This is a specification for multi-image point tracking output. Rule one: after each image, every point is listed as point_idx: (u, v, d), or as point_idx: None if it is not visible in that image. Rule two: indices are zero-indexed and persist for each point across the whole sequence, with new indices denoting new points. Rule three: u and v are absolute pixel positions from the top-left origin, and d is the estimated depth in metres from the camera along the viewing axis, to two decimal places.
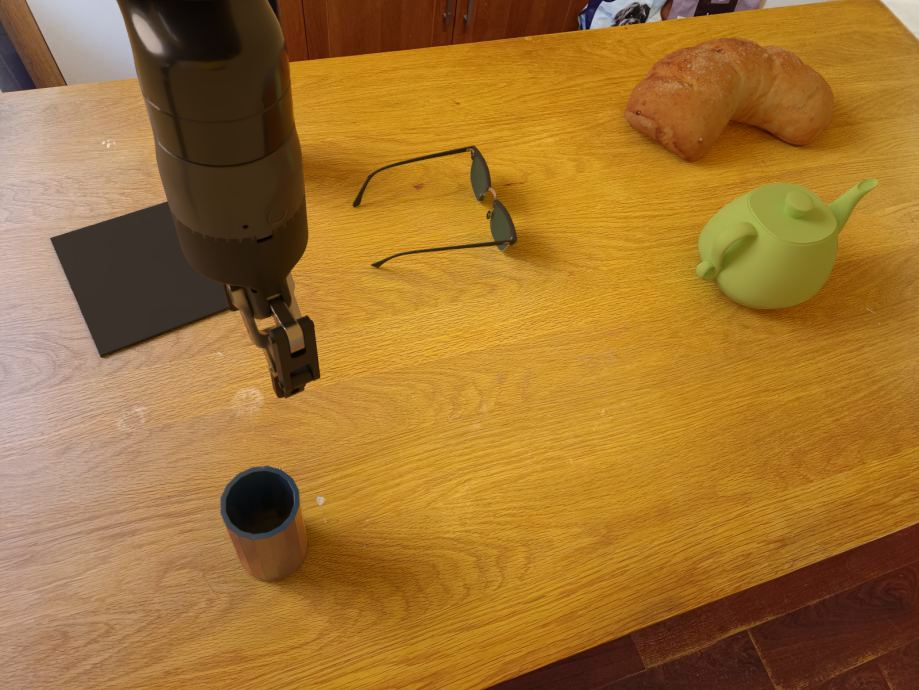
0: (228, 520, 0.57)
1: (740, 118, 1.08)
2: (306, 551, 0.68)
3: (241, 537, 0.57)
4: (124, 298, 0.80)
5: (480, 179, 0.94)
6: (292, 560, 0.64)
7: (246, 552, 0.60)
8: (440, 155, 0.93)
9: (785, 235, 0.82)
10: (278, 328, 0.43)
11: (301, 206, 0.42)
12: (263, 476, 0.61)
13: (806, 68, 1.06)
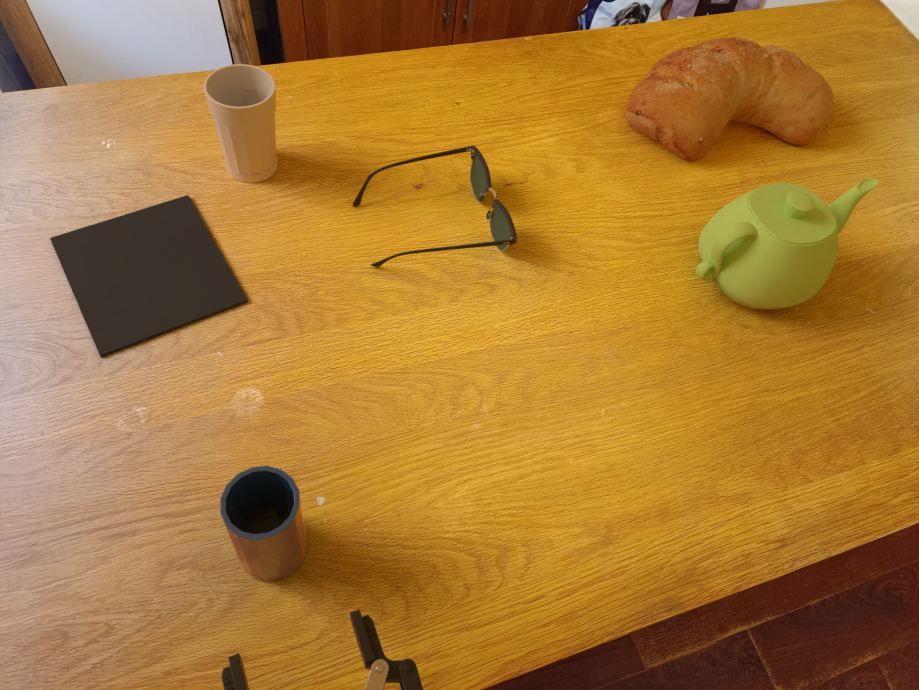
0: (228, 520, 0.57)
1: (740, 118, 1.08)
2: (306, 551, 0.68)
3: (241, 537, 0.57)
4: (124, 298, 0.80)
5: (480, 179, 0.94)
6: (292, 560, 0.64)
7: (246, 552, 0.60)
8: (440, 155, 0.93)
9: (785, 235, 0.82)
10: None
11: None
12: (263, 476, 0.61)
13: (806, 68, 1.06)
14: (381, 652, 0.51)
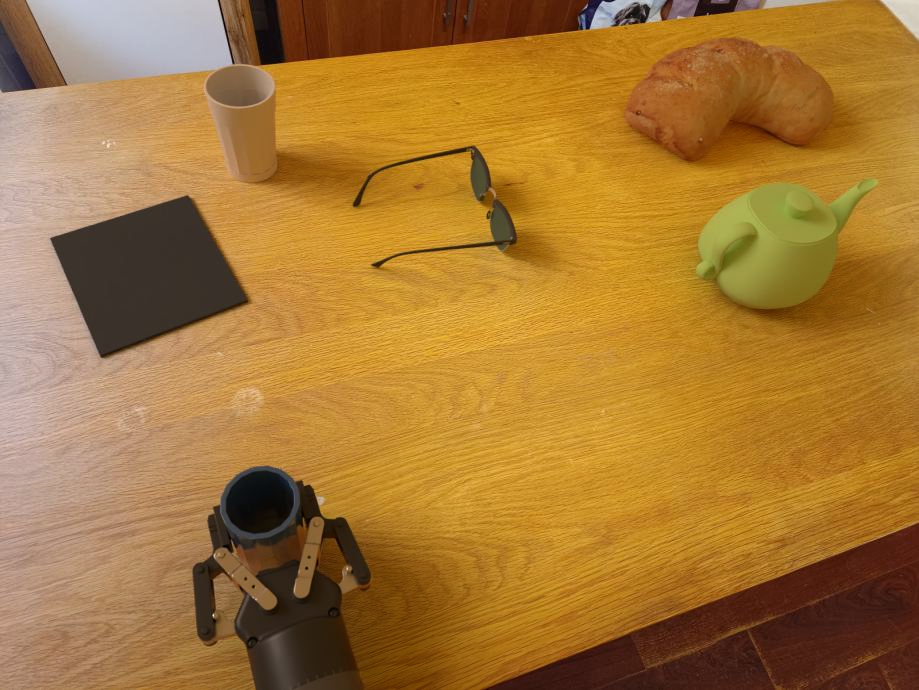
0: (228, 520, 0.57)
1: (740, 118, 1.08)
2: None
3: (241, 537, 0.57)
4: (124, 298, 0.80)
5: (480, 179, 0.94)
6: None
7: (246, 552, 0.60)
8: (440, 155, 0.93)
9: (785, 235, 0.82)
10: (209, 639, 0.56)
11: None
12: (263, 476, 0.61)
13: (806, 68, 1.06)
14: (319, 512, 0.62)
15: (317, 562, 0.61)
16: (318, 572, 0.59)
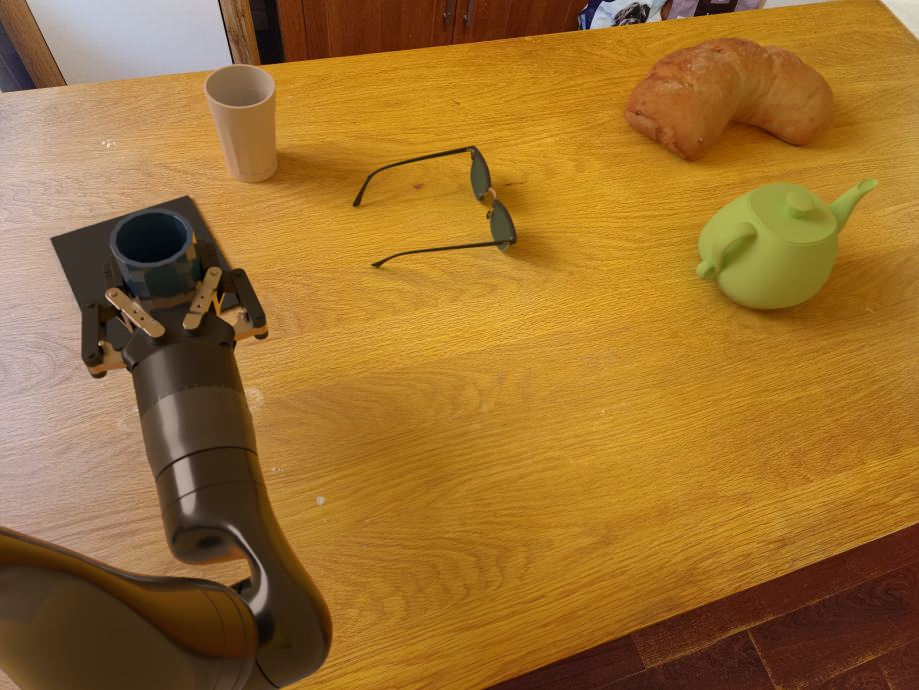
0: (117, 250, 0.56)
1: (740, 118, 1.08)
2: None
3: (129, 266, 0.56)
4: None
5: (480, 179, 0.94)
6: None
7: (140, 294, 0.59)
8: (440, 155, 0.93)
9: (785, 235, 0.82)
10: (94, 364, 0.55)
11: None
12: (159, 221, 0.60)
13: (806, 68, 1.06)
14: (218, 265, 0.61)
15: (215, 312, 0.61)
16: (212, 313, 0.58)
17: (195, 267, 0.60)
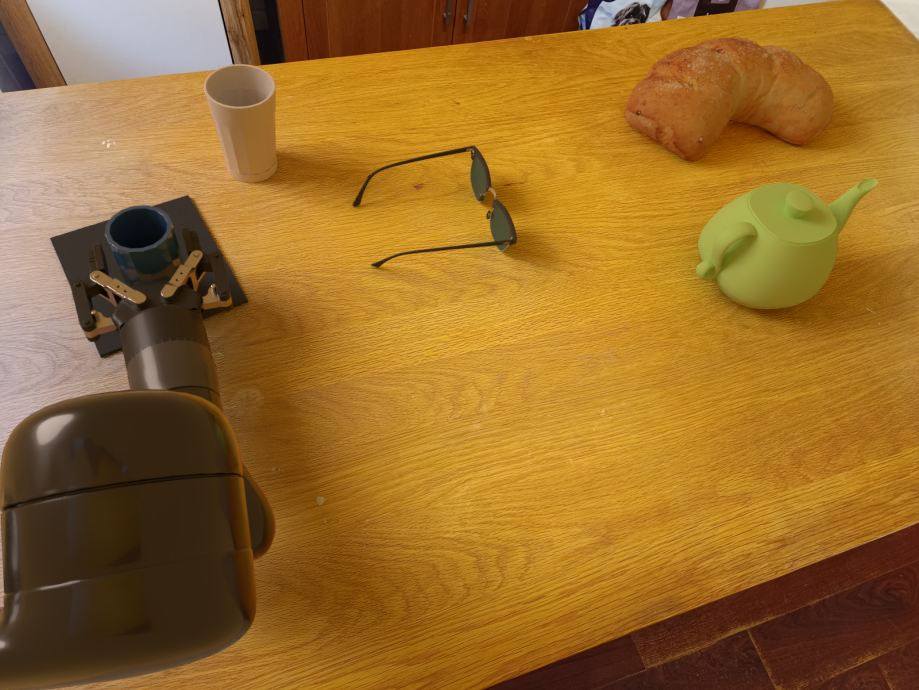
0: (111, 238, 0.71)
1: (740, 118, 1.08)
2: None
3: (120, 250, 0.70)
4: None
5: (480, 179, 0.94)
6: None
7: (129, 274, 0.73)
8: (440, 155, 0.93)
9: (785, 235, 0.82)
10: (91, 329, 0.69)
11: None
12: (145, 215, 0.74)
13: (806, 68, 1.06)
14: (200, 249, 0.75)
15: (192, 287, 0.74)
16: (184, 285, 0.72)
17: (174, 252, 0.74)
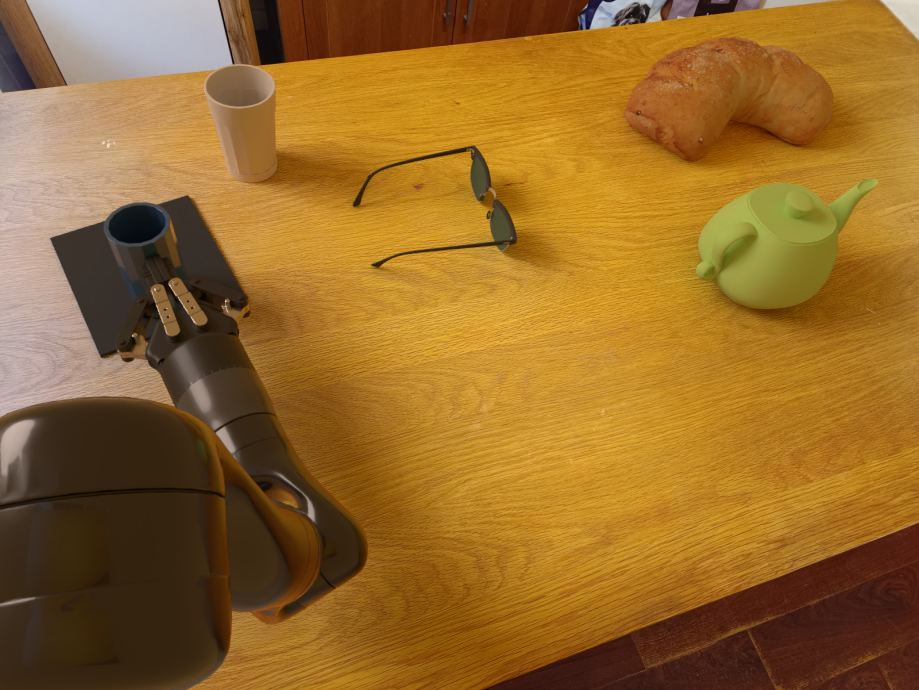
0: (109, 234, 0.71)
1: (740, 118, 1.08)
2: None
3: (119, 246, 0.70)
4: (124, 298, 0.80)
5: (480, 179, 0.94)
6: None
7: (128, 270, 0.73)
8: (440, 155, 0.93)
9: (785, 235, 0.82)
10: (123, 350, 0.66)
11: None
12: (144, 213, 0.74)
13: (806, 68, 1.06)
14: (177, 276, 0.71)
15: None
16: (214, 310, 0.69)
17: (172, 248, 0.74)
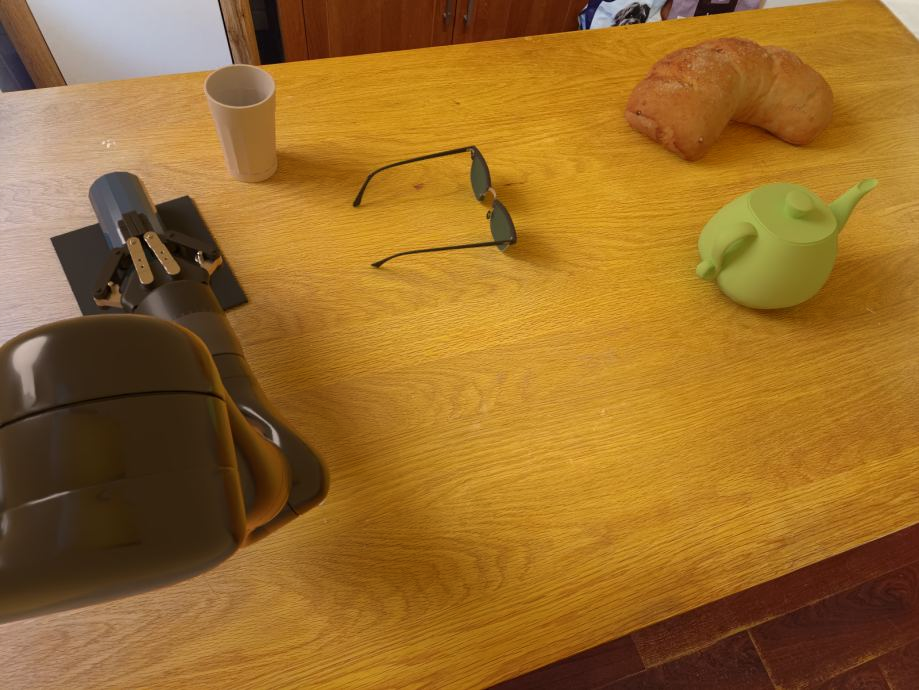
0: None
1: (740, 118, 1.08)
2: None
3: (91, 187, 0.82)
4: None
5: (480, 179, 0.94)
6: None
7: (99, 209, 0.80)
8: (440, 155, 0.93)
9: (785, 235, 0.82)
10: (99, 298, 0.69)
11: None
12: None
13: (806, 68, 1.06)
14: (152, 230, 0.74)
15: None
16: (187, 261, 0.72)
17: (139, 188, 0.83)
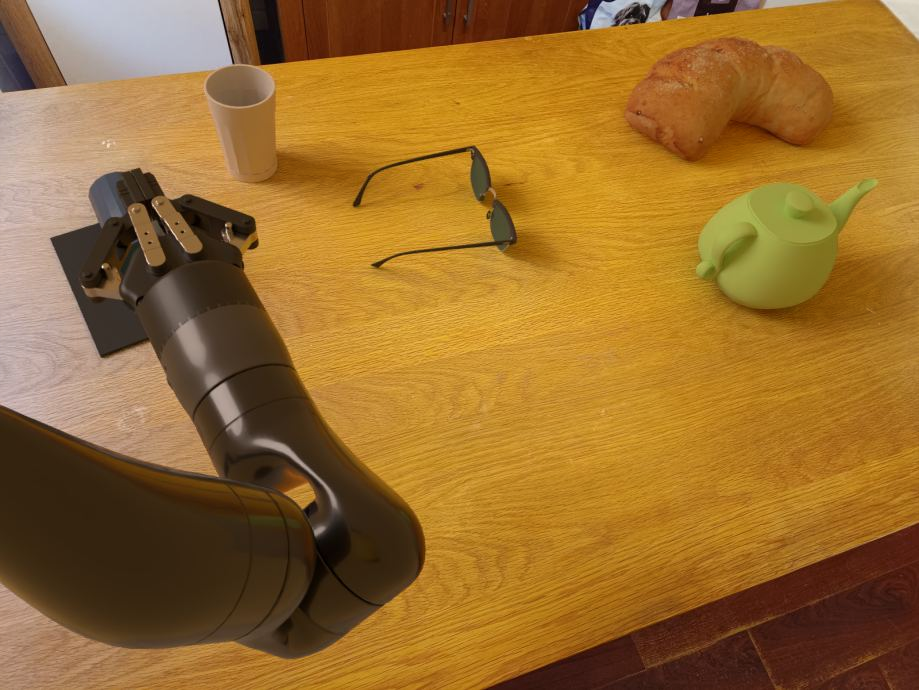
0: None
1: (740, 118, 1.08)
2: None
3: (91, 187, 0.82)
4: None
5: (480, 179, 0.94)
6: None
7: (100, 209, 0.80)
8: (440, 155, 0.93)
9: (785, 235, 0.82)
10: (89, 285, 0.49)
11: None
12: None
13: (806, 67, 1.06)
14: (162, 195, 0.54)
15: None
16: (212, 236, 0.52)
17: None
